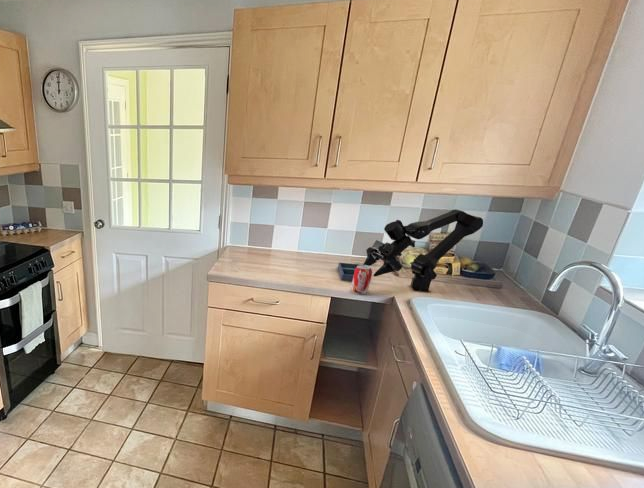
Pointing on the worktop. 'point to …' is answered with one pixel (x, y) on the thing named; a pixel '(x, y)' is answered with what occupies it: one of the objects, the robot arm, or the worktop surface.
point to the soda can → (361, 279)
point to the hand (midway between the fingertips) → (367, 272)
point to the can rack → (346, 271)
